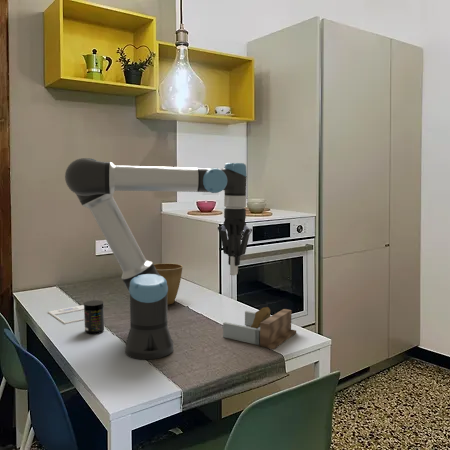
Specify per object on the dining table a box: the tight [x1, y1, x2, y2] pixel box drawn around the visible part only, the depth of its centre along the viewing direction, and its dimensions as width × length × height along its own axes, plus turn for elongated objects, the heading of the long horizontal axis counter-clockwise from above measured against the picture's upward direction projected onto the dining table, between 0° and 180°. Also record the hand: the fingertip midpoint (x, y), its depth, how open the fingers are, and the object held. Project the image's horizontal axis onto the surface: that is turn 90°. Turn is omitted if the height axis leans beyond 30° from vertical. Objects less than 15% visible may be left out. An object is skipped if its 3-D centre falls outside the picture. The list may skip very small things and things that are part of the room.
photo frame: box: [47, 304, 84, 325], centre depth 186 cm, size 15×1×18 cm
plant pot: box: [153, 262, 183, 306], centre depth 203 cm, size 15×15×16 cm
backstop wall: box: [259, 308, 297, 350], centre depth 160 cm, size 18×5×8 cm, turn 148°
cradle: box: [222, 310, 272, 346], centre depth 165 cm, size 16×14×5 cm
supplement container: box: [83, 299, 105, 335], centre depth 166 cm, size 7×7×10 cm
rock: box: [250, 306, 271, 329], centre depth 165 cm, size 11×9×10 cm
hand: (233, 274), depth 166 cm, fingers closed
